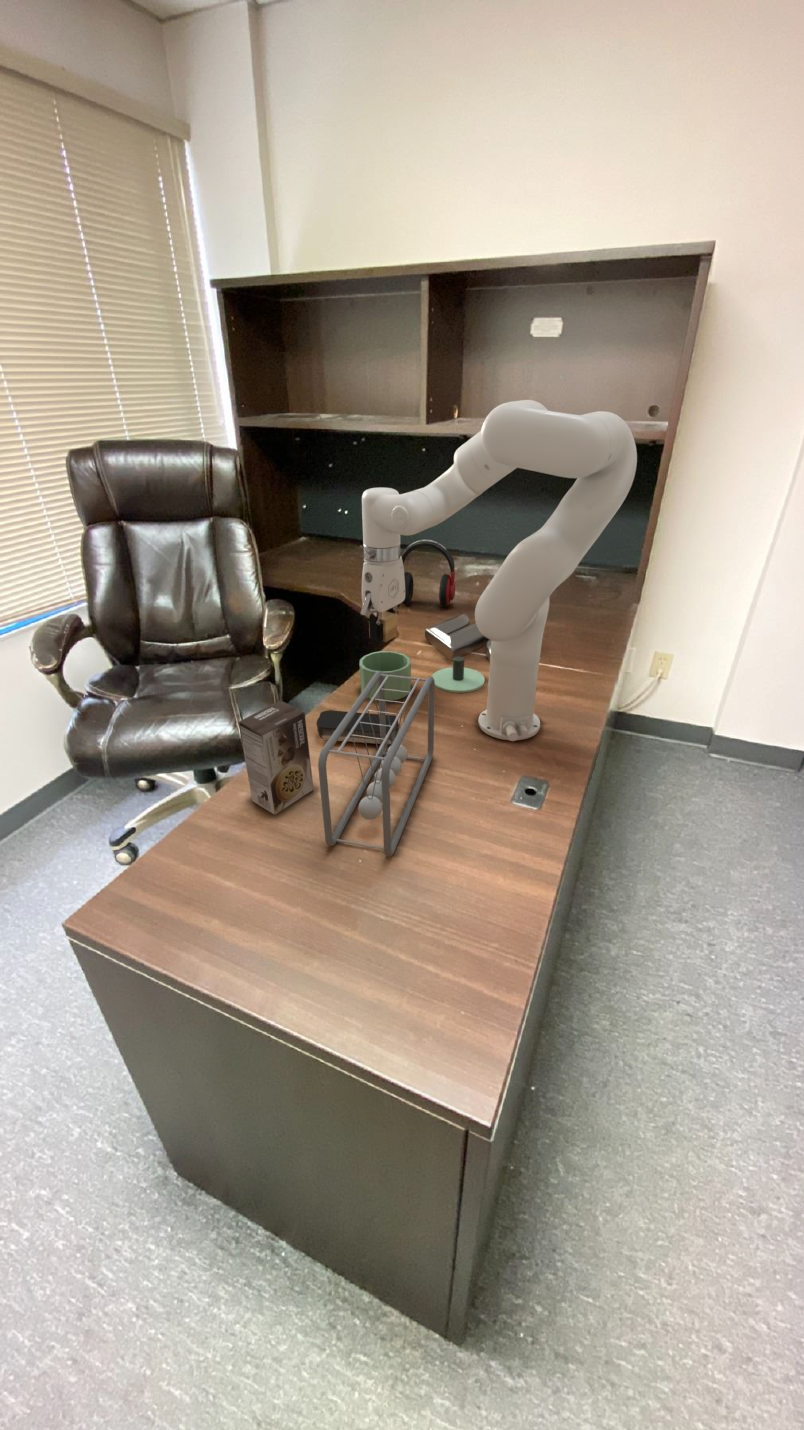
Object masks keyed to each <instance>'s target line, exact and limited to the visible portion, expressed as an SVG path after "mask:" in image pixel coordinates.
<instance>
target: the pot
mask: <svg viewBox="0 0 804 1430" xmlns="http://www.w3.org/2000/svg"><path fill="white" fill-rule="evenodd" d="M377 671H382V672H383V674H386V675H395V676H404V677H412V662H411V658H410V656H408V655H407V654H406V653H405V654H404V653H402V652H399V651H391V650H379V651H374V652H370V653H368V654H365V655H363V656H362V657H361V658H360V659H359V679H360V681H359V683H360V694H361V693H362V692H363V690H364V689H365V687H366V686H367V684H368V683H369V682H370V680H371V679H372V677H373V676H374V674H375V673H376V672H377ZM385 678H386V677H384V679H385ZM384 684H385V689H389V690H385V700H387V701H386V702H391V701H398V700H400V699H403V698H405V697H408V695H409V692H411V690H412V680H411V679H402V678H393V677H388V679H387V680H386V682H385V683H384ZM378 688H379V687H378V681H377V683H376V684H375V686H374V687H373V689H372V690H371V692H370V693H369V695H368V696H367V698H366V699H365V700H368V699H370V700H371V699H372V697H373V696H374V694H375V693H376V691H377V690H378ZM393 690H398V691H393ZM402 691H407V692H402ZM375 699H379V693H378V694H377V696H376V697H375ZM377 701H378V702H379V700H377Z"/></svg>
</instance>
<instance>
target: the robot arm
mask: <svg viewBox="0 0 804 1430" xmlns="http://www.w3.org/2000/svg"><path fill="white" fill-rule="evenodd" d="M453 454H454V455H453V464H452V465H451V466H450V467H449V468H448V469H447V470H446V471H444V472H443V473H442V474H441V475H440V476H438V477H437V478H436V479H435V480H433V481H432V482H430V483H429V484H427V485H425V486H424V487H421V488H417V489H414V490H411V491H407V492H405V493H399V491H398V490H397V489H394V488H392V487H372V488H371V487H370V488H368V489H366V490H364V491H363V493H362V495H361V519H362V545H363V546H362V547H363V548H362V549H363V561H364V562H363V563H362V571H361V572H362V573H361V574H362V575H361V603H362V607H361V610H360V616H362V617H363V618H365V620H366V621H367V623H368V627H369V626H370V638H369V639H370V640H371V641H372V640H373V641H376V642H380V643H381V642H384V641H383V624H382V623H381V618H382V612H384V611H386V612H391V613H395V614H397V616H398V615H399V608H400V606H401V603H402V602H403V601H404V600H405V576H404V573H405V568H404V563H403V561H402V557H401V536H413V535H417V534H419V533H421V532H423V531H425V530H428V529H430V528H433V527H435V526H438V525H439V524H441V523H444V522H445V521H446V520H447V519H449V518H451V517H452V516H453V515H455V514H456V513H458V512H459V511H460V510H462V509H463V508H465V507H466V506H467V505H469V504H471V502H473V501H474V500H475V499H476V498H477V497H479V496H481V495H482V494H483V493H484V492H485V491H487V490H488V489H489V488H491V487H492V486H494V485H495V484H496V483H498V482H499V481H500V480H502V479H503V478H505V477H507V475H509V474H511V473H512V472H513V471H514V470H517V469H523V470H527V471H533V472H536V473H540V474H541V473H542V474H546V475H551V476H554V477H560V478H567V479H575V481H574V483H573V484H572V486H571V487H570V488H569V489H568V491H567V492H566V493H565V494H564V495H563V497H562V499H561V500H560V501H559V503H558V505H557V506H556V508H555V509H554V510H553V512H552V514H551V515H550V516H549V518H548V519H547V520H546V522H545V523H544V524H543V525H542V526H541V527H540V528H539V529H538V530H537V531H535V532H533V533H532V534H531V535H529V536H527V537H525V538H524V539H523V540H521V541H520V542H518V543H517V544H516V545H515V546H514V548H513V549H512V550H511V551H510V552H509V553H508V554H507V556H506V558H505V559H504V560H503V562H502V563H501V564H500V566H499V568H498V569H497V571H496V572H495V574H494V575H493V577H492V578H491V580H490V581H489V583H488V584H487V585H486V587H485V589H484V590H483V591H482V593H481V595H480V596H479V598H478V600H477V601H476V602H477V603H476V605H475V608H474V621H475V623H476V625H477V627H478V629H479V631H480V632H481V633H482V635H484V636H485V637H486V638H488V639H490V640H492V643H491V654H490V661H489V670H488V682H487V684H488V685H487V699H486V709H484V710H483V711H481V713H480V714H479V716H478V721H477V722H478V726H479V729H480V730H481V731H482V732H483V733H485V734H486V735H488V736H490V737H492V738H496V739H499V740H502V741H503V740H504V741H510V742H515V741H521V740H527V739H529V738H532V737H534V736H535V735H537V734H538V733H539V731H540V728H541V721H540V718H539V716H538V715H537V714H536V713H535V705H536V697H537V696H536V695H537V689H538V678H539V669H540V659H541V654H542V645H543V638H544V632H545V627H546V623H547V619H548V615H549V610H550V602H551V601H550V600H551V599H550V598H551V597H550V596H551V595H552V594H553V593H554V592H555V590H557V588H558V587H559V586H560V585H561V584H562V583H564V582H565V581H566V580H568V578H570V576H571V575H572V574H573V573H574V572H575V570H576V569H577V568H578V566H579V564H580V563H581V561H582V560H583V558H584V557H585V556H586V554H587V553H588V551H590V549H591V547H592V546H593V545H594V544H595V542H596V541H597V540H598V538H599V537H600V536H601V534H602V533H603V531H604V530H605V529H606V527H607V526H608V524H609V523H610V522H611V520H612V519H613V518H614V516H615V515H616V513H617V512H618V511H619V509H620V508H621V506H622V505H623V503H624V501H625V500H626V498H627V496H628V494H629V492H630V490H631V488H632V485H633V482H634V480H635V476H636V471H637V463H638V452H637V445H636V441H635V438H634V435H633V432H632V431H631V429H630V427H629V425H628V424H627V422H626V421H625V420H624V419H623V418H622V417H620V416H619V415H618V414H616V413H613V412H610V411H607V410H606V411H605V410H600V411H599V410H598V411H592V412H588V413H584V414H573V413H565V412H559V411H553V410H548V409H547V407H545V406H544V405H543V404H542V403H540V402H538V401H537V400H533V399H521V400H514V401H508V402H503V403H501V404H499V405H497V406H496V407H493V409H492V410H491V411H490V412H489V413H488V415H486V416H485V419H484V421H483V423H482V426H481V429H480V430H479V431H478V432H477V433H476V434H474V435H473V436H471V437H470V438H469V439H468V440H467V441H466V442H464V443H463V444H461V446H459V447H458V448H457V449H456V450H455V452H454V453H453ZM402 604H403V603H402ZM376 612H377V616H375V615H374V613H376Z"/></svg>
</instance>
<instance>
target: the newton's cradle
mask: <svg viewBox="0 0 804 1430" xmlns="http://www.w3.org/2000/svg"><path fill="white" fill-rule="evenodd" d="M384 677H386V678H385V679H384ZM388 677H393V678H402V679H411V681H412V680H413V681H415V682H414V685H412V686H413V687H411V691H410V692H409V694H408V695H407V696H406V699H405V701H398V703H399V704H400V703H401V704H402V706H401V708H400V710H399V711H398V713H395V712H388V707H387V702H388V701H387V700H385V690H389V689H385V684H384V683H385V682H386V680H387V679H388ZM377 681H378V687H379V688H378V690H377V691H376V693H375V694H374V696H373V697H372V699H370V700H369V702H368V703H367V705H366V707H365V708H364V710H363V711H362V712H361V713H362V714H361V716H360V717H359V719H358V720H357V722H356V723H355V725H354V726H353V728H352V729H351V731H350V732H349V734H348V735H347V737H346V738H345V740H344V741H342V742H341V745H340V746H339V747H338V749H337V750H334V749H333V748H334V747H335V745H336V743H337V742H338V741H337V740H338V739H339V737H340V736H341V735H342V733H343V732H344V730H345V729H346V727H347V726H348V724H349V723H350V721H351V720H352V718H353V717H354V715H355V714H356V712H357V713H358V712H359V709H360V708H361V706H362V705H363V703H364V702H365V700H367V699H366V698H367V696H368V695H369V693H370V692H371V690H372V689H373V687H374V686H375V684H376V683H377ZM420 681H421V682H423V684H422V686H421V688H420V690H419V692H418V694H417V696H416V698H415V700H414V702H413V704H412V705H411V707H410V709H409V711H408V713H407V709H408V705H409V700H410V699H411V696H412V695H413V693H414V692H415V689H416V687H417V686H418V684H419V682H420ZM435 688H436V687H435V682H434V678H433V677H432V675H430V676H429V675H428V676H427V677H426V678H422V677H414V676H411V677H404V676H395V675H386V674H383V672H382V671H377V672H376V673H375V674H374V676H373V677H372V679H371V680H370V682H369V683H368V684H367V686H366V687H365V689H364V690H363V692H362V693H361V692H360V694H359V696H358V697H357V698H356V699H355V702H354V703H353V704H352V706H351V707H350V708H349V710H348V711H347V712H348V713H347V714H346V716H345V717H344V719H343V720H342V721H341V723H340V724H339V726H338V727H337V729H336V730H335V731H334V733H333V734H332V736H331V737H330V739H329V740H326V743H325V745H324V746H323V747H322V748H321V750H320V753H319V756H318V762H317V769H318V770H317V771H318V781H319V789H320V790H319V791H320V799H321V800H320V801H321V809H322V810H321V811H322V821H323V830H324V839H325V843H326V845H327V846H329V847H333V846H335V845H336V843H337V842H338V843H343V844H349V845H353V846H360V847H366V848H370V849H375V850H377V849H378V850H381V851H382V850H383V853H384V856H386V857H392V856H393V855H394V853H395V851H396V850H397V846H398V844H399V841H400V839H401V836H402V834H403V831H404V830H405V827H406V824H407V822H408V819H409V817H410V814H411V812H412V810H413V807H414V804H415V802H416V799H417V797H418V794H419V792H420V790H421V788H422V785H423V782H424V780H425V777H426V775H427V773H428V770H429V768H430V765H431V762H432V760H433V755H434V748H435V695H436V694H435ZM393 691H398V690H393ZM402 692H407V691H402ZM378 693H379V699H375V697H376V696H377V694H378ZM426 695H427V752H426V756H425V757H420V756H414V755H413V756H412V755H408V750H407V748H406V747H405V746H404V745H403V744H402V743H403V741H404V739H405V737H406V735H407V732H408V731H409V729H410V727H411V725H412V723H413V721H414V719H415V717H416V715H417V713H418V711H419V709H420V707H421V705H422V704H423V702H424V699H425V697H426ZM378 700H379V701H378ZM377 701H378V704H377ZM373 702H374V703H375V706H376V710H373V712H375V713H377V714H378V715H379V719H380V724H375V725H380V738H376V739H380V744H379V748H378V744H377V743H376V739H375V735H374V731H373V727H372V731H373V735H374V739H375V743H376V744H375V743H374V744H375V747H376V751H377V752H376V753H375V755H370V752H369V749H368V745H367V744H368V743H366V740H365V737H366V736H364V733H363V729H362V725H361V723H364V722H360V720H361V719H362V717H363V716H364V714H365V713H368V714H369V713H370V712H372V710H371V709H369V708H370V707H371V705H372V703H373ZM390 702H393V703H397V700H392V701H390ZM404 709H405V711H404ZM403 711H404V715H403ZM370 714H371V713H370ZM370 714H369V718H370ZM406 714H407V715H406ZM385 715H388V719H389V715H396V716H397V717H396V719H395V721H394V723H393V724H392V726H391V724H390V720H389V724H390V730H389V732H388V733H387V735H386V726H388V725H386V717H385ZM402 716H403V720H402ZM397 721H398V724H399V727H398V732H397V736H396V738H395V740H394V732H395V727H396V722H397ZM401 721H402V724H401ZM370 722H371V718H370ZM358 723H360V725H361V729H362V733H363V736H361V737H364V740H365V743H364V744H365V748H366V751H367V754H362V753H358V751H357V746H356V742H354V738H353V735H352V733H353V731H354V729H355V728H356V726H357V725H358ZM368 724H371V726H372V723H368ZM394 726H395V727H394ZM393 728H394V732H393V733H392V736H393V737H392V742H393V741H394V742H393V743H391V744H390V746H389V747H388V745H389V744H388V741H389V736H390V733H391V732H392V730H393ZM350 736H352V739H353V742H352V743H353V747H354V750H355V752H349V751H342V749H343V748H344V747H345V745H346V743H348V741H347V740H348V739H349V737H350ZM354 736H359V735H354ZM369 738H373V737H369ZM387 739H388V741H387ZM386 741H387V744H386ZM330 754H337V755H345V756H351V757H357V758H356V759H357V762H358V766H359V770H360V775H361V777H362V781H361V782H360V784H359V786H358V787H357V789H356V790H355V793H354V795H353V797H351V798H352V799H351V800H350V802H349V804H348V806H347V808H346V809H345V811H344V813H343V815H342V816H341V818H340V820H339V822H338V824H337V826H336V827H335V830H334V831H333V828H332V816H331V806H330V795H329V783H328V782H329V781H328V773H327V760H328V757H329V755H330ZM383 756H384V757H383ZM359 758H366V759H368V760H369V763H370V766H369V768H368V769H367V771H366V773H365V775H363V771H362V766H361V762H360V759H359ZM371 759H373V761H372V760H371ZM407 759H414V760H419V761H424V762H423V764H422V766H421V769H420V771H419V774H418V776H417V778H416V781H415V783H414V785H413V788H412V790H411V793H410V795H409V797H408V800H407V802H406V804H405V807H404V808H403V811H402V814H401V816H400V819H399V821H398V823H397V826H396V827H395V830H394V833H393V835H392V823H391V789H392V788H393V787H394V786H395V784H396V781H397V776H398V775H399V774H400V773H401V771H402V768H403V765H402V764H404V763H405V762H406V761H407ZM375 771H376V772H375ZM372 777H373V782H371V783H370V780H372V779H371V778H372ZM367 786H368V787H367ZM364 792H365V794H366V796H364V797H363V798H362V799H361V797H362V795H363V794H364ZM360 799H361V800H360ZM359 801H360V802H359ZM358 803H359V804H358ZM357 805H358V812H359V815H360V816H361V817H362V818H363V819H364V820H369V821H373V820H375V819H377V818H378V817H380V815H381V814H382V834H383V846H380V845H373V844H368V843H362V842H357V841H350V840H345V839H340V837H341V835H342V833H343V831H344V829H345V828H346V825H347V824H348V822H349V820H350V818H351V817H352V814H353V813H354V810H355V808H356V807H357Z"/></svg>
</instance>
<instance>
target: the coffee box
mask: <svg viewBox="0 0 804 1430" xmlns="http://www.w3.org/2000/svg"><path fill="white" fill-rule="evenodd" d="M237 723H238V727H239V732H240V738H241V744H242V750H243V757H244V761H245V762H244V763H245V768H246V773H247V778H248V785H249V790H250V795H251V801H252V802H254V803H255V804H257V805H258V806H260V807H261V808H263V809H265V810H266V811H268V812H269V813H270V814H272V815H277V814H279V813H281V812H282V811H283V810H285V809H287V808H288V807H289V806H291V805H293V804H294V803H295V802H297V801H299V800H300V799H302V798H303V797H305V796H306V795H307V794H309V793H310V792H312V791H314V781H313V773H312V764H311V755H310V748H309V747H310V746H309V739H308V730H307V722H306V713H305V711H304V710H302V709H299V708H297V707H295V706H293V705H292V704H290V703H287V702H284V701H282V700H278V701H276V702H274V703H272V704H270V705H268V706H267V707H264V708H263V709H260V710H258V711H256V712H254V713H252V714H251V715H249V716H247V717H245V718H243V719H241V720H239V721H238V722H237Z"/></svg>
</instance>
